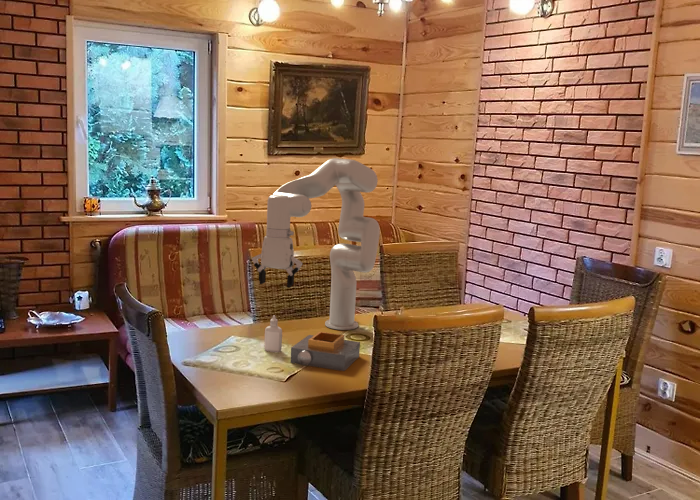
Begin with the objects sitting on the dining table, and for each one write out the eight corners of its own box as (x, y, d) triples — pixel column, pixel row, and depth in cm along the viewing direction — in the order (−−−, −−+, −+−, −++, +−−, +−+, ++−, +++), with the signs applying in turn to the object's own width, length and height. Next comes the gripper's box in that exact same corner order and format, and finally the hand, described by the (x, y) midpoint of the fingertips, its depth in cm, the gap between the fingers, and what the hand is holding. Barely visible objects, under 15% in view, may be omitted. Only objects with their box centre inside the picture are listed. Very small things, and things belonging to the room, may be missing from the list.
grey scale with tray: (309, 348, 246) (310, 326, 244) (360, 355, 240) (361, 333, 239) (289, 363, 228) (290, 340, 227) (343, 372, 223) (344, 348, 222)
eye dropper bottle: (272, 353, 237) (274, 318, 235) (262, 349, 241) (263, 314, 239) (283, 351, 240) (284, 316, 238) (272, 347, 244) (274, 312, 242)
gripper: (307, 234, 235) (304, 285, 238) (258, 229, 240) (256, 280, 243) (298, 237, 228) (296, 290, 231) (248, 232, 233) (247, 284, 235)
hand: (276, 285), depth 237 cm, fingers open, 9 cm apart
